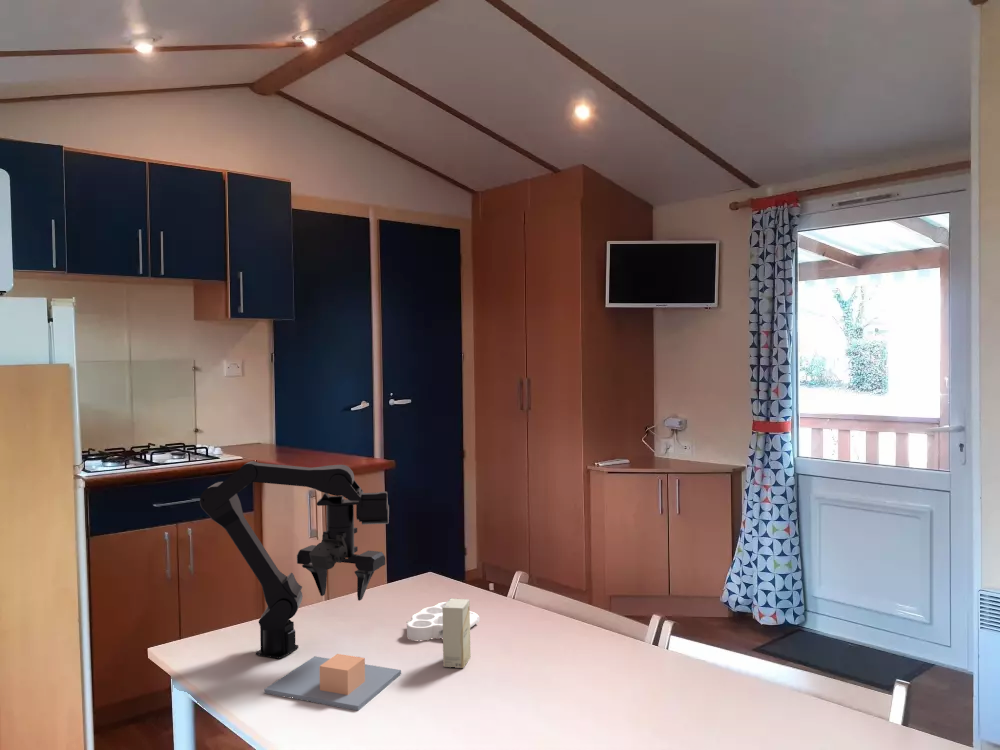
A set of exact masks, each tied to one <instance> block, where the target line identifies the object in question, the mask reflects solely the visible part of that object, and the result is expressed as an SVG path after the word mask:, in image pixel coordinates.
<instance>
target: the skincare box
mask: <svg viewBox="0 0 1000 750" xmlns="http://www.w3.org/2000/svg"><path fill="white" fill-rule="evenodd" d="M445 602H446V604H445V605H444V606H443V608H442V610H443V639H442V651H443V653H442V654H443V655H442V661H443V668H451V667H455V669H464V668H465V666H466V665H467V663H468V662H469V660H470V659H471V654H472V653H471V628H470V611H471V610H470V607H471V605H470V599H469V598H449V599H448V600H447V601H445Z"/></svg>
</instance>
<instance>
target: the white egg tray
mask: <svg viewBox="0 0 1000 750" xmlns="http://www.w3.org/2000/svg"><path fill="white" fill-rule="evenodd" d="M446 602H447V601H443V602H438V603H437V604H436V605H434V606H433V605H432V606H427V607H424V608H422V609H421V610H420V611H419V612H417V613H413V615H412V616H411V618H410V620H408V621H406V622H405V623H406V638H407V637H408V638H409V639H408V638H407V639H408V640H410V639H411V640H410V641H413V640H418V641H417V642H421V641H420V640H427V641H429V640H428V639H431V638H436V639H440V638H443V610H442V608H443V606H444V605H445V604H446ZM479 622H480V616H479V614H477V613H476V612H474V611H471V610H470V629H471V628H473V626H475V625H476V624H479ZM431 640H432V639H431Z"/></svg>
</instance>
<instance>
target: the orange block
mask: <svg viewBox="0 0 1000 750" xmlns="http://www.w3.org/2000/svg"><path fill="white" fill-rule="evenodd" d="M365 664H366V659H365V657H360V656H353V655H349V654H348V655H347V654H341V653H336V654H335V655H334V656H332V657H331V658H329V660H328V661H326V662H325V663H323V664H322V665H320V690H322V691H328V692H333V693H339V694H345V695H349V694H350V693H351V692H352V691H354V690H355V689H356V688H357V687H359V686H360V685H361V684H362V683H364V682H365Z"/></svg>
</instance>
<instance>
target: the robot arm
mask: <svg viewBox="0 0 1000 750" xmlns="http://www.w3.org/2000/svg"><path fill="white" fill-rule="evenodd" d="M251 483H258V484H259V483H262V484H272V485H282V486H283V485H284V486H293V487H307V488H309V489H313V490H314V491H318V492H321V493H323V495H322V497H320V498H319V499H318V501H317V502H316V506H319V507H320V506H323V507H324V506H326V509H325V510H326V530H324V531H323V532H322V536H321V537H322V539H321V542H319V543H317V544H311V545H308V546H305V547H304V548H301V549H299V550H298V552H297V554H296V564H299V565H301V566H302V568H304V569H306V570H308V571H309V572H310V573H311V576H312V578H313V579H314V582H315V584H316V587H317V590H318V592H319V594H320V596H321V597H324V596H325V595H326V591H327V579H328V570H331V569H333V568H334V567H335V564H337V563H341V564H342V563H344V564H347V563H348V564H354V565H355V566H354V567H355V568H356V569H357V570H355V571H354V574H355V576H356V577H357V581H356V583H357V589H356V591H357V595H356V596H357V601H362V600H363V598H364V595H365V593H366V590H367V588H368V585H369V583H370V581H371V579H372V578H373V575H374V573H375V571H378V569H381V567H384V566H385V565H386V556H385V554H384V553H383V551H377V550H366V551H365V552H362V553H360V554H355V553H357V552H358V546H355V534H356V533H358V527H355V513H356V521H359V523H361V525H388V524H389V522H390V521H389V520H390V518H389V517H390V505H389V501H388V497H389V496H388V491H378V492H364V490H363V489H362V487H361V486H360V485H359V484H358V483H357V481H356V480H355V474H354V471H353V470H352V469H351V468H350V466H348V465H345V464H334V465H333V464H331V465H322V466H317V467H316V466H315V467H307V466H296V465H295V466H294V465H285V464H284V465H283V464H275V463H266V462H265V463H264V462H257V461H254V460H252V461H247V462H246V463H244V464H243V465H242V466H240V469H238V470H237V471H235V472H234V473H233V474H231V475H230V476H229V477H228V478H227V479H225V480H224V481H217V482H215V483H214V484H211V485H210V486H209V487H207V488H206V489H205V490H203V492H202V493H201V494H200V499H199V505H200V507H201V509H202V510H203V512H205V514H206V515H208V517H209V518H211V520H212V521H213V522H215V523H216V524H217V525H219V526H220V527H222V529H223V528H224V530H225V531H226V532H227V534H228V535H229V537H230V539H231V541H232V542H233V543H234V545H235V546H236V548H237V550H238V551H239V553H240V554H241V556H242V557H243V558H244V560H245V562H246V563H247V565H248V567H250V570H251V571H252V572H253V574H254V576H255V577H256V579H257V580H258V581H259V583H260V585H261V588H262V593H263V596H264V601H265V603H266V606H267V607H266V609H265V610H264V611H263V613H262V614H261V617H260V618H259V619H258V624H259V627H260V628H259V629H260V630H259V631H260V632H259V633H260V649H259V650H257V651H256V652H255V655H256V656H260V657H261V656H262V657H265V658H266V657H268V658H273V659H283V658H285V657H286V656H287V655H289V654H291V653H292V652H294V651H296V650H297V649H299V646H300V645H299V644H296V630H295V629H294V627H295V624H294V621H292V620H291V619H292V618H293V617H294V616H295V615H296V613H297V612H298V609H299V608H300V606H301V604H302V602H303V592H302V588H303V586H302V585H301V584H300V583H298V582H297V578H296V576H295V575H294V573H293V572H290V573H289V574H288V575H285V573H282V571H281V570H280V569H279V568H278V566H277V565H276V563H275V562H274V560H273V559H272V557H271V556H270V554H269V553H268V552H267V549H266V548H265V547H264V545H263V544H262V541H260V539H259V538H258V536H257V535H256V533H255V531H254V530H253V529H252V527H251V525H250V524H249V522H248V520H247V519H246V518H245V515H244V511H243V508H242V503H241V500H240V498H239V496H238V493H240V492H241V491H242V490H243V489H245V488H246V487H247V486H249V485H250V484H251ZM355 506H356V508H355V509H356V510H355V511H356V512H355V511H354V507H355ZM354 512H355V513H354Z"/></svg>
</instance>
